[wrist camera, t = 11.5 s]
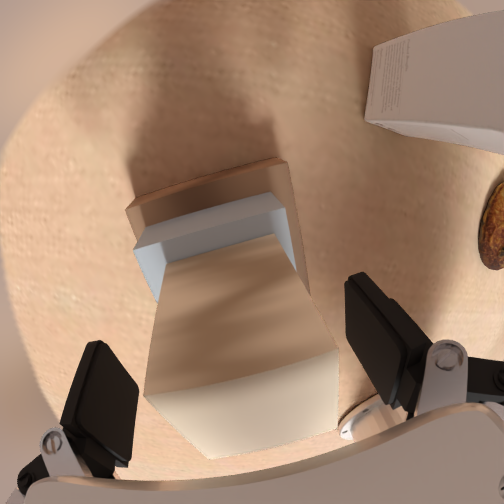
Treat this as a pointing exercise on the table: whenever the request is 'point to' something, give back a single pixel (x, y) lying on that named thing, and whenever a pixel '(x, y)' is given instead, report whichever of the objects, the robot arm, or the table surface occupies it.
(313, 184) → the table surface
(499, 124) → the skincare box
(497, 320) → the table surface
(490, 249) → the bread roll
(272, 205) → the grey slab
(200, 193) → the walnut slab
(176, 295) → the beech block
